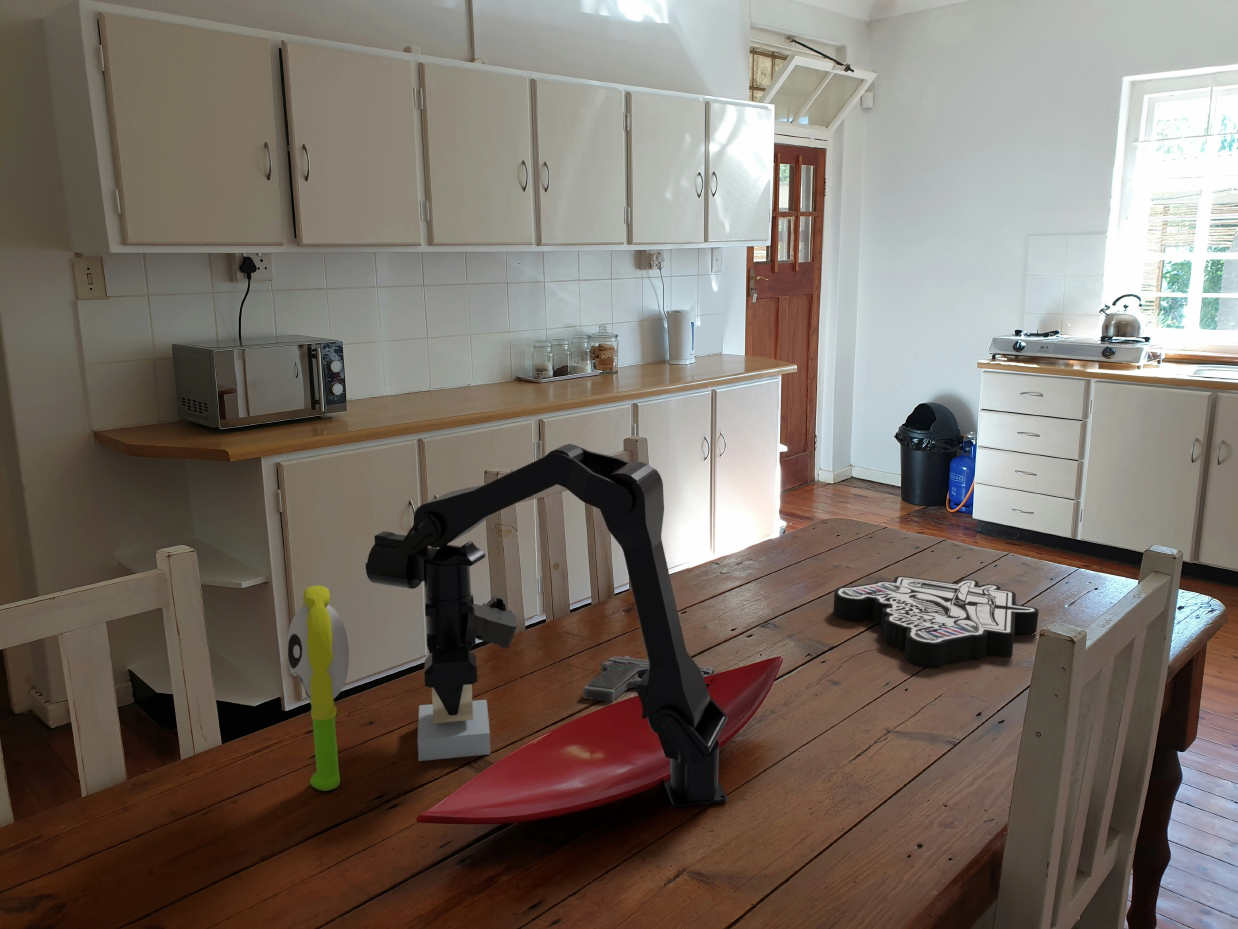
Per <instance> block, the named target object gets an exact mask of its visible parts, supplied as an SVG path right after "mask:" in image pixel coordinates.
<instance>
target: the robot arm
mask: <svg viewBox="0 0 1238 929" xmlns="http://www.w3.org/2000/svg"><path fill="white" fill-rule="evenodd" d="M557 485H558V486H560V487H563V488H564V489H566V490H568V491H569V492H570V493H571V494H573V496H574V497H576V498H577V499H579V500H580V501H581V502H583V503H584V504H587V505H590V506H591V507H594V508H596V509H599V512H600V514H601V516H602V518H603V521H604V523H605V526H606V529H607V530H608V532H609V533H610V534H611V535H612V537H613V538H614V540H615V541H616V542H617V543H618V544H619V546H620V548H621V550H622V552H623V555H624V561H625V565H626V569H627V572H628V573H627V574H628V577H629V578H628V579H629V582H630V586H631V591H632V595H633V599H634V600H633V601H634V604H635V608H636V613H637V618H638V622H639V626H640V630H641V634H642V637H643V638H642V639H643V643H644V644H643V645H644V647H645V651H646V655H647V660H648V661H649V670H648V671H647V672H646V674H645V675H644V676H643V678H642V679H641V680H640V681H639V683H638V684H637V685H636V687H635V688H636V691H637V696H638V698H639V700H640V704H641V708H642V712H641V714H642V715H641V719H642V720H645V719H647V723H648V725H649V728H650V729H651V731H652V732H653V733H654V734H656V735H657V737H658V739H659V741H660V745H661V748H662V751H663V754H664V757H666V759H670V764H669V765H670V766H669V767H670V768H669V773H670V775H671V779H670V781H668V782H666V783H663V785H664V787H665V790H666V792H667V795H668V797H669V799H670V801H671V804H672V806H673V807H674V808H683V807H693V806H694V807H695V806H700V805H701V806H702V805H703V806H704V805H710V804H720V803H725V802H727V801H728V796H727V793H725V790H724V788H723V786H722V785H721V782H720V781H719V763H720V762H719V760H720V759H719V758H720V756H719V754H720V742H719V741H718V737H719V736H720V735H721V734H720V733H722V732H723V730H724V728H725V725H726V723H727V721H728V718H729V716H728V715H727V713H726V712H725V711H724V710H723V708H721V706H719V705H718V703H717V701H715V700H714V699H713V698H712V697H711V696H710V695H711V694H710V691H709V689H708V685H706V683H705V681H704V678H703V676H702V673H701V671H700V669H699V667H700V666H699V667H698V664H697V663H696V662H695V661H694V659H693V658H692V657H691V656H690V655H689V652H688V650H687V648H686V643H685V638H684V634H683V629H682V626H681V621H680V616H679V612H678V609H677V608H678V606H677V603H676V600H675V594H674V590H673V589H674V588H673V586H672V581H671V577H670V572H669V568H668V563H667V559H666V554H665V553H666V552H665V548H664V545H663V539H662V532H663V524H664V515H665V502H664V500H665V499H664V498H665V497H664V483H663V478H662V476H661V474H660V472H659V471H658V470H657V468H654V467H653V466H651V465H650V464H648V463H646V462H642V461H632V462H629V461H627V460H625V459H622V458H620V457H617V456H612V455H608V454H603V453H599V452H595V451H590V450H588V449H585V448H583V447H581V446H579V445H575V444H573V443H567V444H563V445H561V446H559V447H557V448H555V449H553V450H551V451H549V452H548V453H546V454H545V455H544V456H543V457H541V458H537V460H534V461H532V462H529V463H528V464H526V465H524V466H521V467H520V468H517V469H515V470H513V471H511V472H509V473H507V474H505V475H502V476H501V477H498V478H496V479H494V480H492V481H489V482H488V483H485V484H482V485H478V486H470V487H464V488H461V489H456V490H453V491H449V492H446V493H444V494H441V495H439V496H438V497H435V498H434V499H431V500H428V501H427V502H425V503H423V504H420V505H418V507H417V508H416V509H415V511H414V517H413V525H412V526H411V527H410V529H409V531H408V532H407V534H406V535H405V534H399V533H398V534H397V533H395V532H391V531H385V530H383V531H381V532H380V533H377V534H375V535H374V544H373V546H372V547H371V548H370V550H369V553H368V557H367V562H366V563H365V572H366V576H367V578H368V580H369V581H370V582H371V583H372V584H376V585H377V584H378V585H384V586H390V587H397V588H404V589H410V590H413V589H417V588H418V587H419V586H420V585H421V584H422V583H423V582H424V595H425V596H424V597H425V598H424V599H425V600H424V601H425V603H424V604H425V605H424V607H425V608H424V613H425V618H426V621H425V622H426V647H427V650H428V652H429V655H428V656H427V657H426V658H425V659H424V668H423V669H424V671H423V672H424V674H423V675H424V687H426V688H431V689H432V688H434V690H435V691H436V693H437V695H438V696H439V698H440V700H441V702H442V703H443V705H444V707H445V709H446V711H447V712H448V714H449V715H450V716H451V715H457V714H458V710H459V705H460V700H461V695H462V690H463V685H469V684H472V685H474V684H476V683H478V667H477V666H478V664H477V656H476V655H475V654H474V653H473V651H471V648H472V647H473V646H475V645H477V643H476V639H477V640H478V641H479V640H480V641H482V642H484V643H485V642H486V643H490V644H494V645H497V646H499V648H503V649H509V648H510V646H511V644H512V641H513V639H514V636H515V632H516V630H517V627H518V621H517V617H516V615H515V614H514V613H513V611H512V610H511V609H509V610H507V606H506V601H505V597H500V596H497V595H494V596H493V597H491V598H490V600H489V601H487V602H486V603H484V602H483V603H482V604H478V603H477V604H476V603H474V594H472V589H471V588H472V587H471V567H472V566H473V565H476V564H477V563H478V562H480V561H482V560H483V559H485V558H486V553H485V552H484V551H483V550H482V549H480V548H479V547H478V546H476V544H474V542H473V540H470V541H468V542H465V543H464V544H463V545H455V544H450V543H452V542H454V541H456V540H458V539H459V538H461V537H462V536H464V535H466V534H468V533H470V532H471V531H472V530H474V529H475V528H477V526H479V525H481V524H482V523H483V522H485V521H486V520H487V519H488V518H489V517H491V516H492V515H493V514H495V513H497V512H499V511H503V510H504V509H506V508H508V507H511V506H513V505H515V504H517V503H519V502H521V501H524V500H526V499H528V498H531V497H533V496H535V495H537V494H539V493H542V492H544V491H545V490H546V491H547V490H548V489H550V488H552V487H554V486H557Z"/></svg>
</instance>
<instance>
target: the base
mask: <svg viewBox="0 0 1238 929" xmlns="http://www.w3.org/2000/svg"><path fill="white" fill-rule="evenodd" d="M472 705H473V720H465V721H454V722H443V723H433V703H432V704H431V703H430V704H420V705H418V720H417V722H418V725H417V753H418V762H422V761H433V760H434V761H435V760H442V759H443V760H446V759H454V758H465V757H474V756H475V757H476V756H487V755H491V731H490V721H489V710H488V709H489V708H488V700H487V699H481V700H480V699H479V700H472Z"/></svg>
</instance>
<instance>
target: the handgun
mask: <svg viewBox="0 0 1238 929" xmlns="http://www.w3.org/2000/svg"><path fill="white" fill-rule="evenodd" d="M697 666H698V665H697ZM698 667H699V669H700V671H701V673H702V676H703V677H706V676H709V675H712V674H714V675H715V669H714V667H709V666H698ZM648 670H649V661H648V659H642V658H631V657H630V656H629V655H625V656H624V657H623V656H613V657H610V658H608V660H607V661H604V662H602V663H601V665H600V671H601V673H600V674H598V675H597V676H595V677H593V678H592V679H591V680H590V681H589V682H588V683H587V684H586V685H585V686H584V688H583V689H582V698H583V697H586V698H588V697H589V698H592V699H591V700H594V699H598V700H597V701H602V700H604V702H610V701H614V702H615V700H617V698H619V697H620V696H622V694H624V693H625V692H626V691H627V690H629V689H631V688H636V685H637V684H638V683H639V681H640V680H641V679H642V678H643V676H644V675H645V674H646V672H647V671H648ZM602 672H603V673H602ZM628 688H629V689H628ZM618 696H619V697H618ZM586 698H585V699H586ZM614 699H615V700H614Z"/></svg>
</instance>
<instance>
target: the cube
mask: <svg viewBox="0 0 1238 929" xmlns="http://www.w3.org/2000/svg"><path fill="white" fill-rule="evenodd" d="M472 686H473V684H469V685H463V690H462V695H461V700H460V705H459V710H458V714H457V715H451V716H450V715H449V714H448V712H447V711H446V709H445V707H444V705H443V703H442V702H441V700H440V698H439V696H438V695H437V693H436V691H435V690H434V688H431V700H432V702H431V703H432V704H433V723H443V722H454V721H465V720H473V705H472V701H473V687H472Z"/></svg>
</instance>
